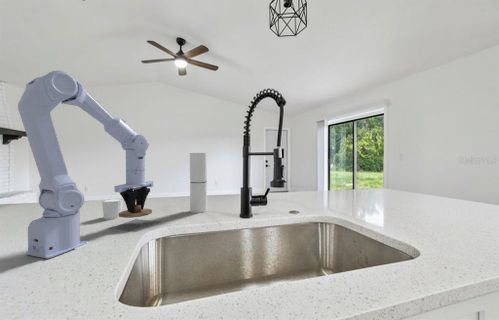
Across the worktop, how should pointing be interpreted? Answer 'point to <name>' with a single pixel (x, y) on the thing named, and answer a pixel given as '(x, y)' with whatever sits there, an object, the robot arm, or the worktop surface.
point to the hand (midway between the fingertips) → (135, 210)
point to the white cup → (112, 208)
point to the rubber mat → (135, 225)
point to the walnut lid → (137, 212)
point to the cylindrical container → (198, 182)
